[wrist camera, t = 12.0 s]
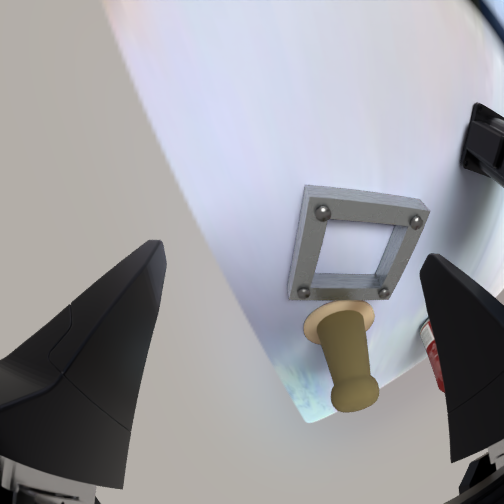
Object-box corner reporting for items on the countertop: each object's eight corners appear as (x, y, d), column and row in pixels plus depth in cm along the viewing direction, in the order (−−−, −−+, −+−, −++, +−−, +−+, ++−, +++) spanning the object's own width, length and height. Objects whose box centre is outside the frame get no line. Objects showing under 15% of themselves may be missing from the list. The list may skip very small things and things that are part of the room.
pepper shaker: (363, 332, 33) (382, 408, 24) (319, 343, 34) (330, 421, 25) (363, 304, 29) (389, 391, 20) (313, 317, 30) (327, 407, 22)
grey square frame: (419, 199, 21) (432, 213, 19) (383, 286, 28) (389, 302, 26) (305, 184, 21) (310, 199, 19) (287, 284, 28) (289, 302, 26)
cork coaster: (384, 298, 29) (385, 301, 29) (359, 340, 35) (360, 343, 34) (311, 298, 29) (312, 301, 29) (297, 342, 35) (297, 346, 34)
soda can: (411, 335, 35) (433, 404, 26) (431, 306, 31) (462, 382, 21) (441, 331, 35) (465, 393, 26) (462, 303, 31) (493, 370, 22)
